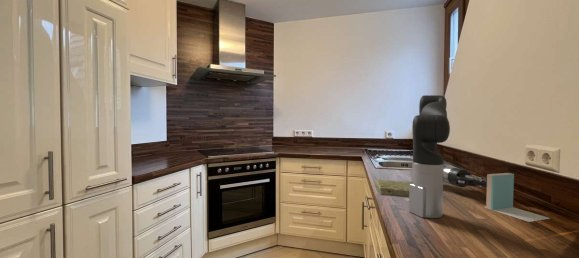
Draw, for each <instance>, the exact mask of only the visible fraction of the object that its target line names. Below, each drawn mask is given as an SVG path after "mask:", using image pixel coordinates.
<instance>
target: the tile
mask: <svg viewBox="0 0 579 258" xmlns="http://www.w3.org/2000/svg"><path fill="white" fill-rule="evenodd" d="M486 178H487V188H486V197H485V198H486V199H485V200H486V202H485V204H486V205H485V207H486V208H485V209H487V208H488V210H490V209H491V210H490V211H494V210H496V209H504V208H511V207H514V188H515V187H514V186H515V185H514V184H515V181H514V180H515V174H514V173H510V172H504V173H501V172H500V173H487V175H486Z"/></svg>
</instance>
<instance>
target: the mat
mask: <svg viewBox="0 0 579 258" xmlns="http://www.w3.org/2000/svg"><path fill="white" fill-rule="evenodd" d="M483 208H485V209H488V208H486V206H484V207H483ZM488 210H490V211H492V210H491V209H488ZM493 211H494V212H498V213H500V214H503V215H506V216H510V217H513V218H516V219H518V220H522V221H525V222H528V223H530V222H536V221H537V222H538V221H543V220H550V219H551V217H547V216H544V215H542V214H541V215H540V214H537V213H534V212H531V211H528V210H527V211H526V210H523V209H520V208H517V207H514V206H513V207H511V208H504V209H496V210H493Z"/></svg>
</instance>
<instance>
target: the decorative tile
mask: <svg viewBox="0 0 579 258" xmlns="http://www.w3.org/2000/svg"><path fill="white" fill-rule="evenodd" d="M410 184H412V181H407V180H405V181H404V180H383V179H376V180H374V187H375V188H377V189H376V191H377V192H378V194H379V195H380V196H383V195H384V196H396V197H406V198H409V190H410Z"/></svg>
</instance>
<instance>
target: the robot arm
mask: <svg viewBox="0 0 579 258" xmlns="http://www.w3.org/2000/svg"><path fill="white" fill-rule="evenodd" d="M447 103H448V102H447V99H446V97H445V96H444V95H439V94H438V95H435V94H433V95H432V94H429V95H428V94H427V95H425V94H424V95H422V96H421V97H420V99H419V104H418V105H419V106H418V110H419V111H418V112H419V113H418V114H417V115H415V116H414V117H413V120H412V125H411V126H412V128H411V129H412V167H411V168H412V171H411V174H412V175H411V176H412V178H411V182H412V184H410V190H409V197H408V198H409V200H408V204H409V205H408V208H409V209H408V211H409V213H411V214H414V215H416V216H417V217H420V218H429V219H438V218H439V219H440V218H441V217H443V200H444V199H443V198H444V197H443V195H444V183H445V184H449V185H452V186H456V187H459V188H465V187H474V188H477V187H479V188H485V189H487V176H481V177H480V176H476V175H475V174H471V173H470V172H469V171H468V170H466V169H464V168H458V167H454V166H449V165H448V166H447V165H444V162H445V160H444V159H445V158H444V156H443V155H442V154H440V153H438V152H437V148H438V144H441V143H444V142H446V141H448V138H449V136H450V133H451V128H450V127H451V125H450V121H449V119H448V112H447Z"/></svg>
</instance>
